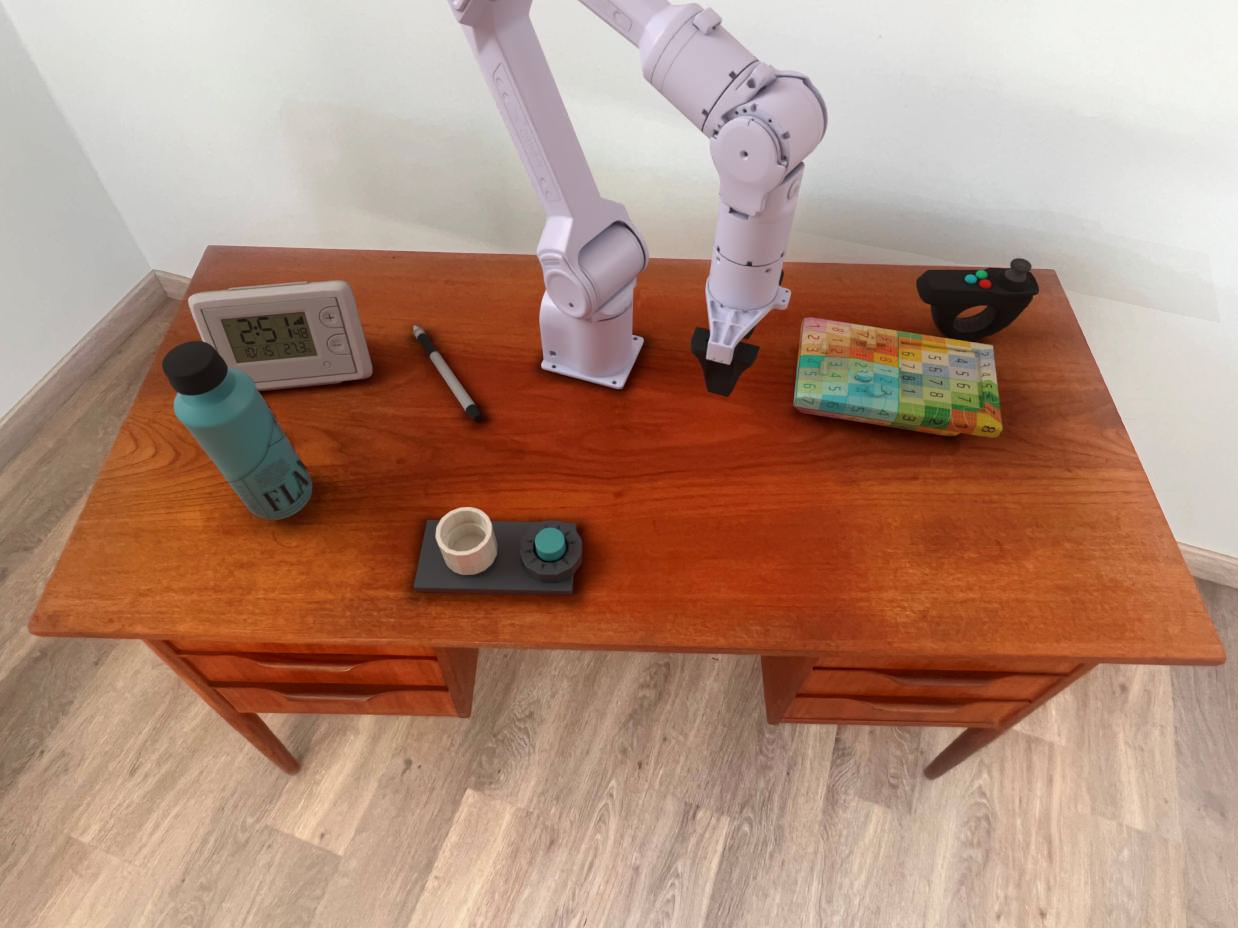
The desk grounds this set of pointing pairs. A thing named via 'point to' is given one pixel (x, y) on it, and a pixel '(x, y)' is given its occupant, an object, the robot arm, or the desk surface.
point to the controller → (977, 298)
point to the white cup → (467, 540)
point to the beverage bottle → (237, 431)
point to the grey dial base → (504, 563)
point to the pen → (447, 374)
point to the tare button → (550, 544)
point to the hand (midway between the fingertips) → (729, 362)
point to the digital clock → (286, 332)
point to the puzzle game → (897, 379)
